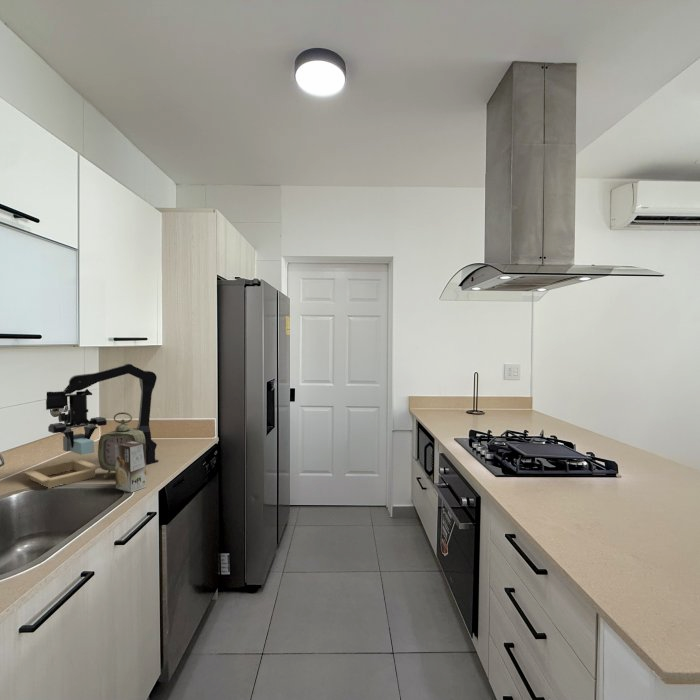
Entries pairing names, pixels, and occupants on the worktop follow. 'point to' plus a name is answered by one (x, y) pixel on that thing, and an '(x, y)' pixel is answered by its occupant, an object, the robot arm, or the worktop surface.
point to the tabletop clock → (110, 439)
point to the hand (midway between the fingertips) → (79, 446)
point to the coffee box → (130, 465)
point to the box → (79, 444)
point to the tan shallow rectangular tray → (81, 466)
